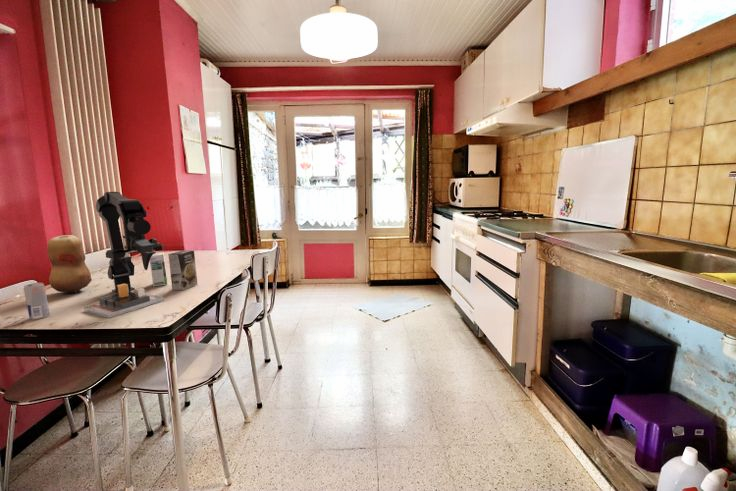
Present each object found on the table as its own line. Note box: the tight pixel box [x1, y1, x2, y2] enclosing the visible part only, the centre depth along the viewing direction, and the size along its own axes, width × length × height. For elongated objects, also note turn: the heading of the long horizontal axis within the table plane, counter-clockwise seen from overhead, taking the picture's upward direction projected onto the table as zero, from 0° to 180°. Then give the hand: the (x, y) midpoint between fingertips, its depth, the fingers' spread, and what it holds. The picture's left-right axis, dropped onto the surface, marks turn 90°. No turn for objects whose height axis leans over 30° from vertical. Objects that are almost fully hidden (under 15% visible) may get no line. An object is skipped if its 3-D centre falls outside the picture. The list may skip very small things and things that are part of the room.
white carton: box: [23, 282, 50, 321], centre depth 124 cm, size 5×5×12 cm
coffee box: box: [168, 250, 199, 291], centre depth 157 cm, size 9×6×16 cm
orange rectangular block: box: [117, 284, 129, 297], centre depth 134 cm, size 2×3×5 cm
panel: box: [83, 286, 164, 319], centre depth 134 cm, size 16×20×6 cm
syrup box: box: [149, 252, 168, 287], centre depth 162 cm, size 6×6×14 cm
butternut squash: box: [46, 234, 93, 294], centre depth 151 cm, size 14×13×25 cm
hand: (138, 271), depth 138 cm, fingers open, 5 cm apart
